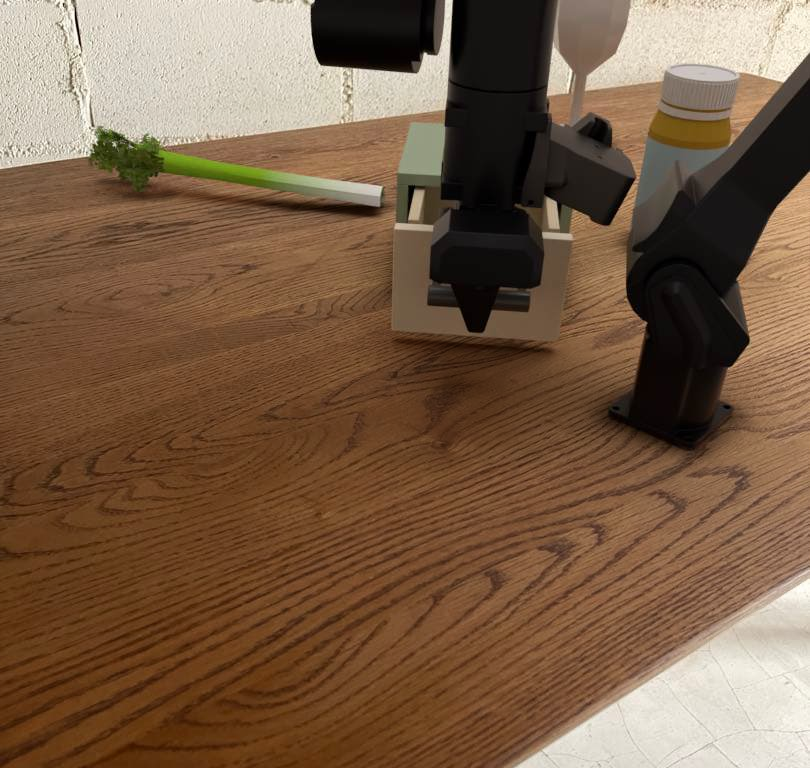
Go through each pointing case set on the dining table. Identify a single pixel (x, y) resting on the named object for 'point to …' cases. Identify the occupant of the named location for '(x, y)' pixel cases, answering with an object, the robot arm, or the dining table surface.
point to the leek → (215, 170)
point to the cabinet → (433, 169)
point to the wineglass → (588, 39)
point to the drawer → (514, 307)
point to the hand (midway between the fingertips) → (476, 330)
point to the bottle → (688, 122)
